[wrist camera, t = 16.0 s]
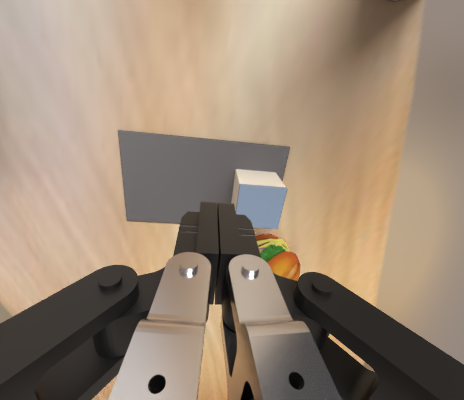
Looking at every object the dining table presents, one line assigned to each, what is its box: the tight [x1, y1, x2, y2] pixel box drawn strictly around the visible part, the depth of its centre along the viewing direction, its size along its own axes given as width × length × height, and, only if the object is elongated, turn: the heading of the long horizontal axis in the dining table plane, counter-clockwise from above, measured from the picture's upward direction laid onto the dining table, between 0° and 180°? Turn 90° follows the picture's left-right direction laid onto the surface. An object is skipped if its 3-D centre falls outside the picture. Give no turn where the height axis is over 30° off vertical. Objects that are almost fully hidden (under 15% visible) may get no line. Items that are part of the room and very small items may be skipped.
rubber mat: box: [118, 130, 290, 223], centre depth 41 cm, size 27×16×1 cm, turn 84°
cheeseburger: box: [256, 234, 300, 281], centre depth 46 cm, size 10×11×10 cm
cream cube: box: [231, 169, 287, 229], centre depth 39 cm, size 7×7×7 cm
